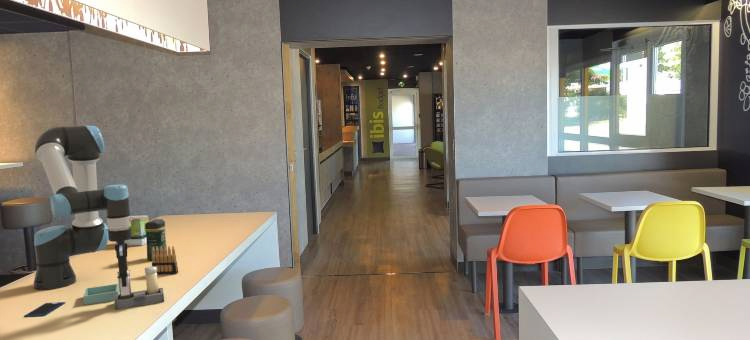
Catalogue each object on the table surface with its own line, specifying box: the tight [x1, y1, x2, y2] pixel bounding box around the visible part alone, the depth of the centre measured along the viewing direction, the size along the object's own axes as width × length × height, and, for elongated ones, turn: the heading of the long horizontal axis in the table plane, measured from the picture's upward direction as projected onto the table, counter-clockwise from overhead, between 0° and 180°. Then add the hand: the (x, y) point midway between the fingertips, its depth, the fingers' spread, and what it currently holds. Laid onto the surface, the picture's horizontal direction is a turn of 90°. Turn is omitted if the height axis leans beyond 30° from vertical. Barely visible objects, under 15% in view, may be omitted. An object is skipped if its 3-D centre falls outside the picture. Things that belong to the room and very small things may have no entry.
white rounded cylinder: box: [144, 265, 159, 295], centre depth 203 cm, size 4×4×12 cm
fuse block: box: [114, 287, 165, 310], centre depth 201 cm, size 16×8×3 cm, turn 113°
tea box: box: [115, 214, 150, 247], centre depth 300 cm, size 15×10×15 cm, turn 84°
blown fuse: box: [116, 269, 132, 299], centre depth 199 cm, size 4×4×12 cm
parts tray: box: [82, 283, 120, 306], centre depth 208 cm, size 11×11×3 cm
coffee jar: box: [145, 218, 168, 261], centre depth 265 cm, size 10×8×19 cm
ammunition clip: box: [151, 245, 179, 276], centre depth 238 cm, size 11×2×12 cm, turn 86°
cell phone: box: [23, 301, 66, 318], centre depth 198 cm, size 7×14×1 cm, turn 1°
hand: (125, 293), depth 199 cm, fingers closed on blown fuse, 4 cm apart
